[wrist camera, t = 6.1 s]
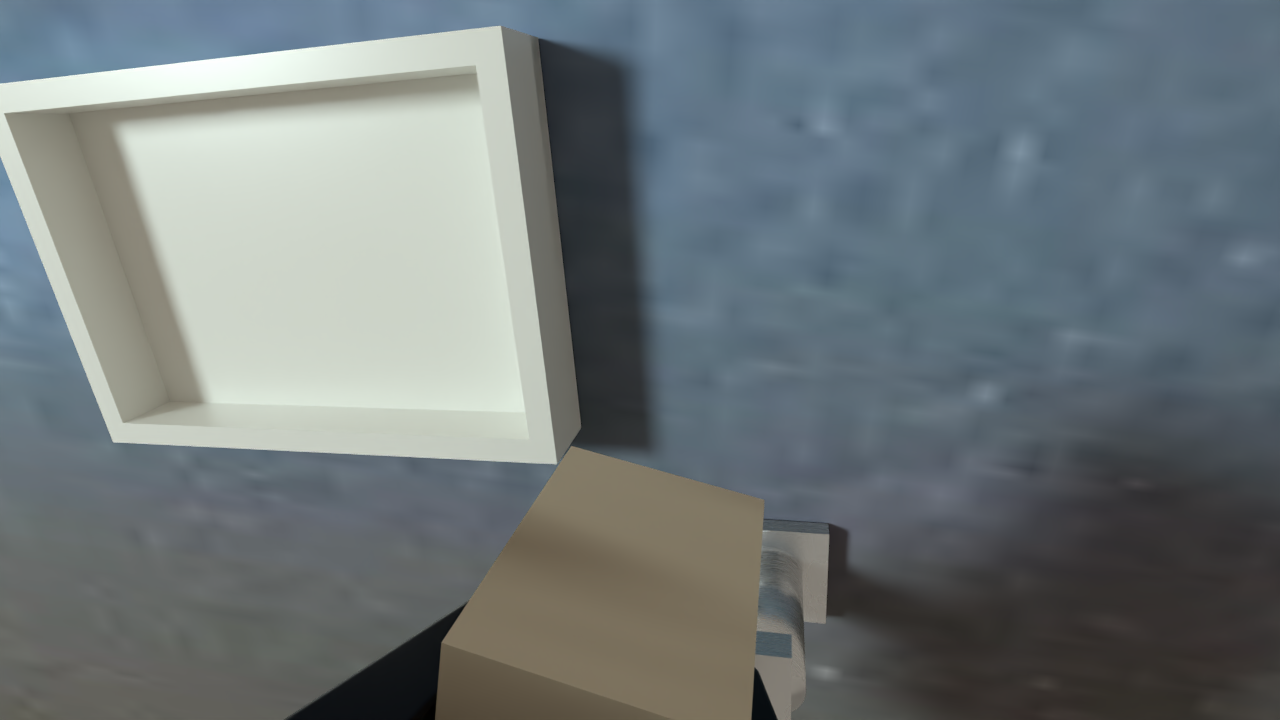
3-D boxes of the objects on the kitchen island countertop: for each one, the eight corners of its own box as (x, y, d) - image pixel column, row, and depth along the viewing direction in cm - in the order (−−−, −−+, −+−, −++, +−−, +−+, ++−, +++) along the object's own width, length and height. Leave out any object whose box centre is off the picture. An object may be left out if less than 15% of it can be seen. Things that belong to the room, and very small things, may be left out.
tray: (537, 37, 18) (500, 25, 15) (581, 427, 22) (556, 464, 19) (60, 90, 21) (-27, 86, 19) (173, 413, 26) (113, 442, 23)
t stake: (824, 611, 22) (836, 773, 17) (721, 601, 23) (700, 752, 18) (828, 521, 21) (842, 664, 15) (718, 513, 22) (695, 647, 16)
